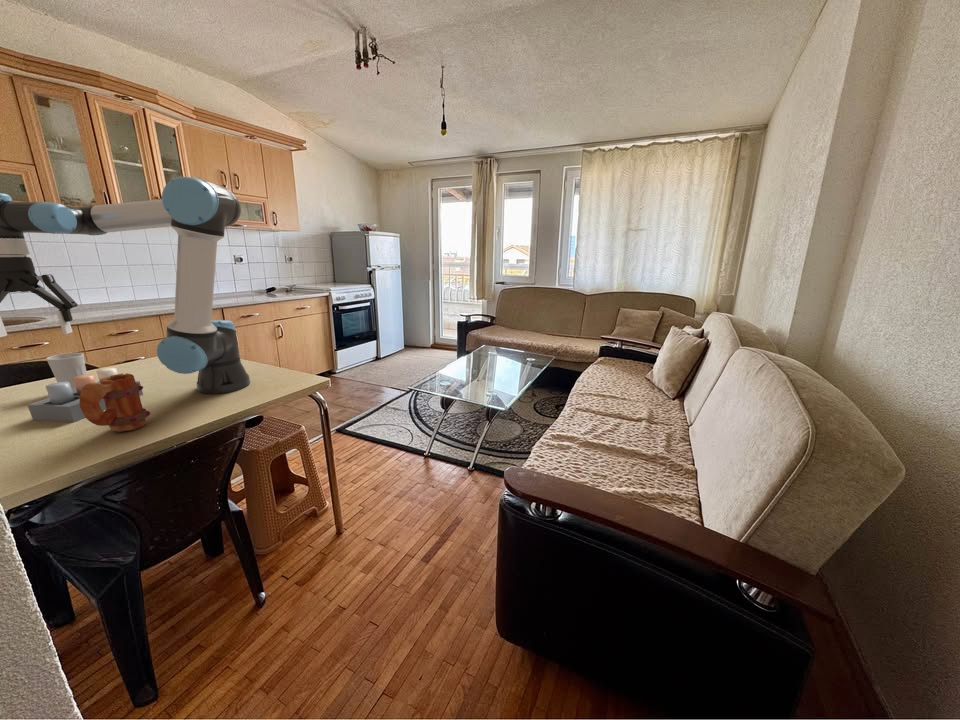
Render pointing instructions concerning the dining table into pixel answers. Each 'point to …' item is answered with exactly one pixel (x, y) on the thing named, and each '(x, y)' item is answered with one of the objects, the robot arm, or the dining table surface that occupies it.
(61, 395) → the button slate
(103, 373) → the button ivory
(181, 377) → the dining table surface
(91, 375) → the button terracotta
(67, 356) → the cup
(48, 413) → the grey tray
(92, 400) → the mug
